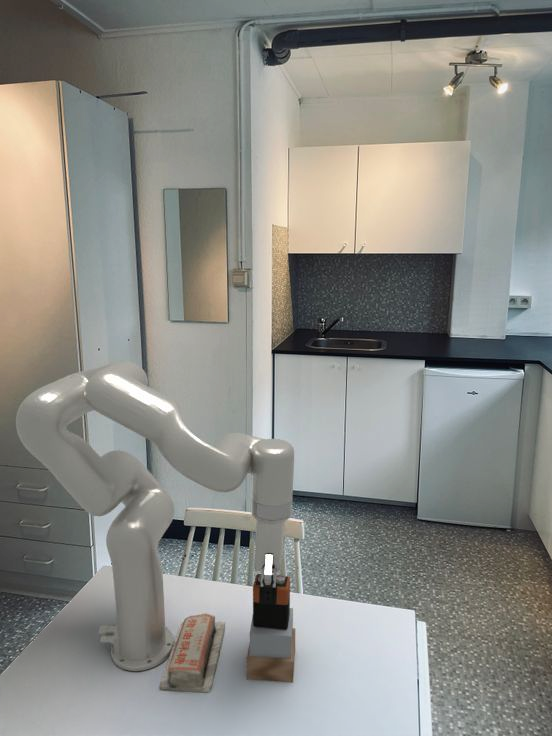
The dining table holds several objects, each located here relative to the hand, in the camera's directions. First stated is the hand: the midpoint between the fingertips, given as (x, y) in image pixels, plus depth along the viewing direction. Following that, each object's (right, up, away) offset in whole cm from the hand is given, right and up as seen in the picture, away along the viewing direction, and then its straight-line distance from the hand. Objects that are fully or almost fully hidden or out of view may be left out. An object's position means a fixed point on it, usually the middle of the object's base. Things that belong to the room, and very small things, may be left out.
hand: (269, 586), depth 103 cm
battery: (0, -8, +2) cm, 8 cm away
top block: (0, -13, +4) cm, 13 cm away
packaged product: (-15, -17, +6) cm, 24 cm away
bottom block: (0, -17, +5) cm, 18 cm away
